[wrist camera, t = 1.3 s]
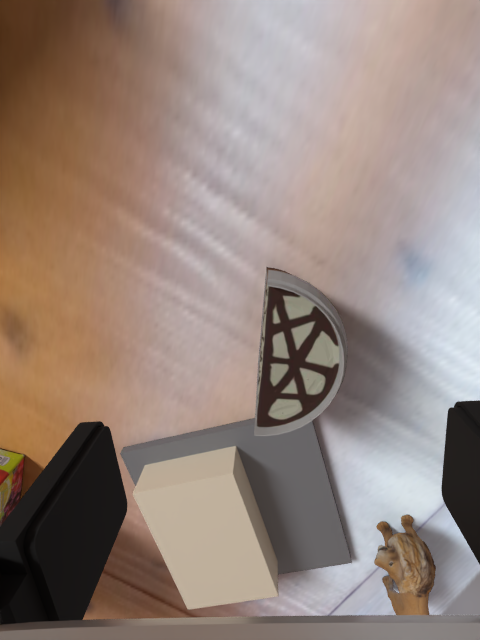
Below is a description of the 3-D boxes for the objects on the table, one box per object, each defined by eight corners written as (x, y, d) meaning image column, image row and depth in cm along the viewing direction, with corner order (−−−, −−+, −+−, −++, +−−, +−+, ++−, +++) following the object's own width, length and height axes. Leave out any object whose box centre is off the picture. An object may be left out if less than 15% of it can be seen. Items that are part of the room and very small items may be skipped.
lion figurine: (356, 498, 42) (378, 578, 34) (406, 488, 41) (442, 567, 33) (385, 594, 46) (411, 686, 38) (431, 586, 46) (469, 678, 37)
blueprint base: (308, 406, 39) (314, 437, 34) (350, 554, 45) (359, 598, 40) (123, 447, 42) (105, 481, 37) (185, 581, 48) (176, 624, 43)
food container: (320, 383, 38) (338, 450, 28) (256, 377, 38) (253, 442, 29) (339, 255, 34) (368, 284, 24) (267, 250, 34) (268, 276, 24)
